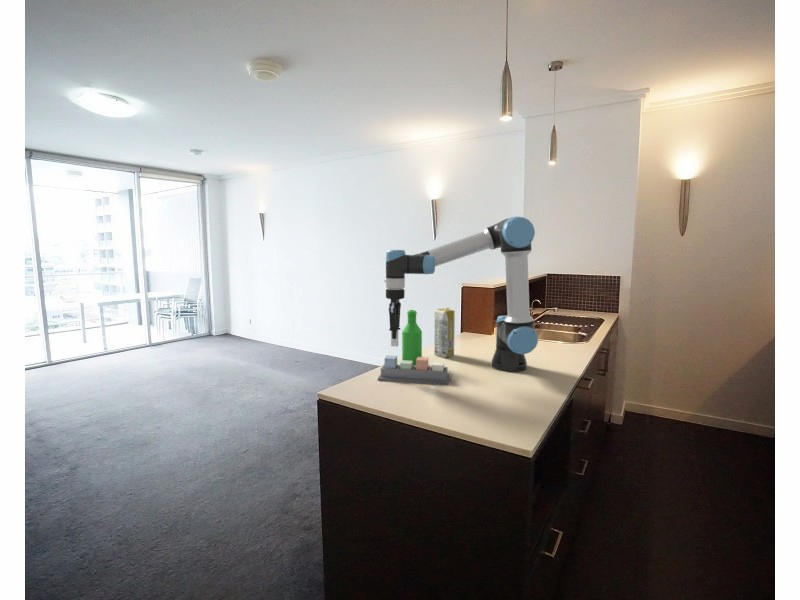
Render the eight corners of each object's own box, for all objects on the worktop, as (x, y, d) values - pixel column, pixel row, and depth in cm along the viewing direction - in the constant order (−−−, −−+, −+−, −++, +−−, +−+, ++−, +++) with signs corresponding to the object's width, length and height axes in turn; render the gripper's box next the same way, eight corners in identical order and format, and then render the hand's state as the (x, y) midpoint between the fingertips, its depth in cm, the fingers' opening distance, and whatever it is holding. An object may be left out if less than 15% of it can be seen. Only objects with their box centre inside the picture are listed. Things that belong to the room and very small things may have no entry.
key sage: (412, 372, 168) (412, 360, 167) (410, 375, 164) (410, 363, 163) (402, 371, 169) (402, 360, 168) (400, 375, 164) (400, 363, 164)
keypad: (449, 375, 168) (449, 365, 168) (447, 384, 158) (447, 373, 157) (384, 372, 174) (384, 362, 173) (377, 380, 163) (377, 370, 163)
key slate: (397, 367, 169) (397, 355, 168) (395, 370, 165) (395, 358, 164) (387, 367, 170) (386, 355, 169) (384, 370, 166) (384, 358, 165)
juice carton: (456, 356, 197) (457, 307, 194) (444, 359, 193) (444, 309, 190) (444, 352, 205) (444, 305, 202) (431, 354, 201) (432, 306, 197)
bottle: (420, 368, 179) (420, 312, 175) (400, 367, 181) (400, 312, 177) (422, 362, 187) (423, 309, 184) (404, 361, 189) (404, 308, 186)
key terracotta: (428, 369, 166) (428, 357, 166) (426, 372, 162) (426, 360, 161) (417, 368, 167) (417, 356, 167) (416, 371, 163) (416, 359, 162)
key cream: (444, 374, 165) (444, 362, 165) (443, 377, 161) (443, 365, 160) (433, 373, 166) (433, 361, 166) (432, 377, 162) (432, 364, 161)
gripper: (389, 286, 169) (389, 341, 172) (382, 290, 156) (382, 349, 160) (407, 287, 168) (406, 342, 171) (401, 290, 155) (400, 350, 158)
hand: (394, 345), depth 165 cm, fingers closed
